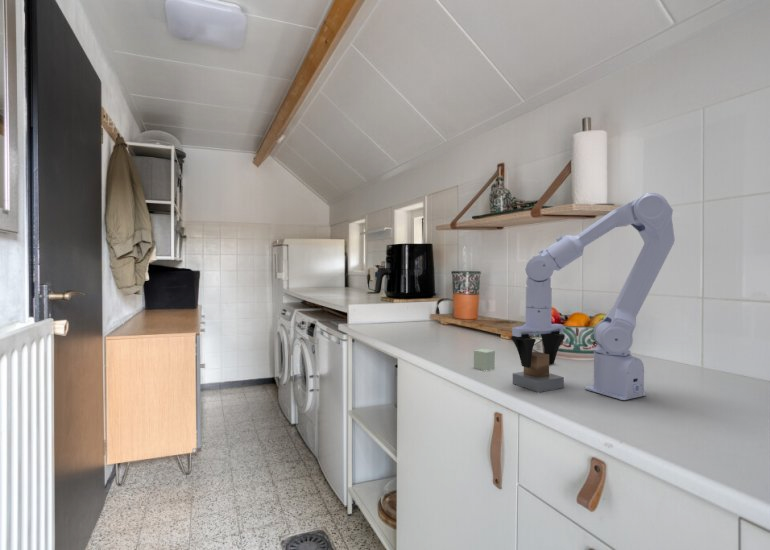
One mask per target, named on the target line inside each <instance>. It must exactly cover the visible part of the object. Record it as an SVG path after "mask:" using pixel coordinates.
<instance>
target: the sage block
mask: <svg viewBox="0 0 770 550" xmlns="http://www.w3.org/2000/svg"><path fill="white" fill-rule="evenodd" d="M495 353H496V351H495V350H494V349H493V350H492V349H488V348H487V349H486V348H479V349H475V350H473V369H474V368H477V369H476V370H479V369H482V370H481V371H483V370H485V371H484V372H487V371H486V370H488V371H491V370H490V369H492V370H495V369H494V368H495V367H496V364H495V362H496V361H495V359H496V358H495V357H496V355H495Z"/></svg>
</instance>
